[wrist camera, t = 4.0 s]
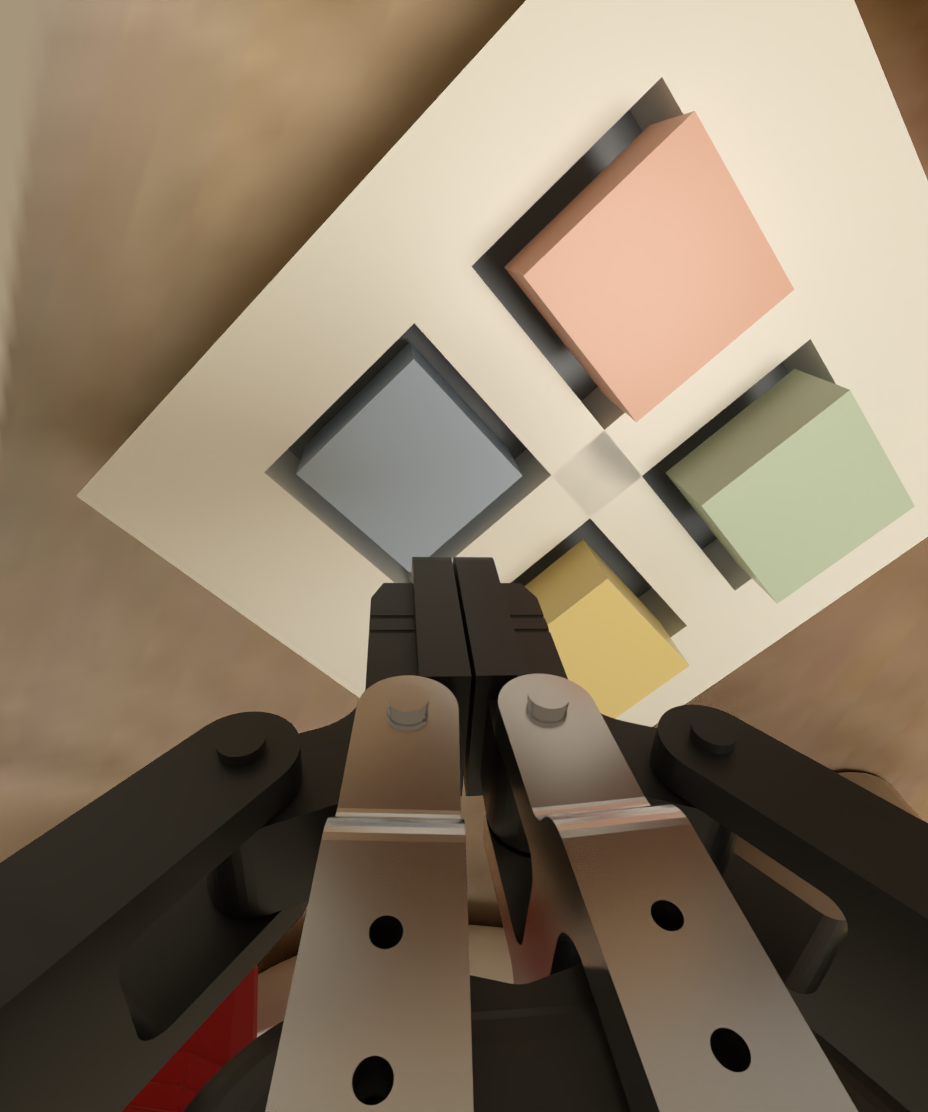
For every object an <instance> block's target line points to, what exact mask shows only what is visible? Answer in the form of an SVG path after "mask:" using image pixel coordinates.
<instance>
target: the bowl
mask: <svg viewBox="0 0 928 1112" xmlns="http://www.w3.org/2000/svg"><path fill="white" fill-rule="evenodd" d="M468 933H469V968H470V975H472V976H477V977H482V978H486V979H491V980H496V981H501V982H506V983H510V984H514V981H513V971H512V964H511V958H510V953H509V949H508V945H507V940H506V936H505V932H504V928H500V927H491V926H480V925H468ZM296 960H297V956H294V957H292V958H290V959H287V960H285V961H283V962H281V963H279V964H277V965H275V966H273V967H271V968H269V969H267V970H265V971H264V972H262V973H260V974H258V1007H257V1037H258V1036H260V1035H261V1034H263V1033H264V1032H266V1031H267V1030H269V1029H270V1028H272V1027H274V1026H275V1025H277V1024H278V1023H280V1022H282V1021H284V1018H285V1013H286V1009H287V1004H288V999H289V994H290V989H291V984H292V979H293V975H294V970H295V965H296Z"/></svg>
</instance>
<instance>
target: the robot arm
mask: <svg viewBox="0 0 928 1112" xmlns="http://www.w3.org/2000/svg"><path fill="white" fill-rule="evenodd" d="M463 776H464V784H465V792H466V796H480V795H483V797H484V804H485V810H486V815H485V825H484V835H483V839H484V845H485V850H486V854H487V858H488V863H489V867H490V871H491V876H492V880H493V884H494V889H495V893H496V897H497V902H498V906H499V910H500V914H501V919H502V923H503V927H504V932H505V936H506V940H507V945H508V949H509V953H510V958H511V964H512V971H513V981H514V984H510V983H506V982H501V981H496V980H491V979H486V978H482V977H477V976H472V975H470V968H469V933H468V898H467V864H466V833H465V822H464V820H461V796H462V787H463ZM733 849H734V852H733ZM307 905H308V907H307ZM306 907H307V912H306V916H305V921H304V926H303V931H302V936H301V941H300V946H299V950H298V955H297V960H296V965H295V970H294V975H293V979H292V984H291V989H290V994H289V999H288V1004H287V1009H286V1013H285V1018H284V1021H282V1022H280V1023H278V1024H277V1025H275V1026H274V1027H272V1028H270V1029H269V1030H267V1031H266V1032H264V1033H263V1034H261V1035H260V1036H258V1037H257V1038H255V1039H254V1040H253V1041H251V1042H250V1043H249V1044H248V1045H247V1046H245V1047H244V1048H243V1049H242V1050H240V1051H239V1052H238V1053H237V1054H236V1055H234V1056H233V1057H232V1058H231V1059H230V1060H229V1061H228V1062H227V1063H226V1064H225V1065H224V1066H223V1067H222V1068H221V1069H220V1070H219V1071H218V1072H217V1073H216V1074H215V1075H214V1076H213V1077H212V1078H211V1079H210V1080H209V1081H208V1082H207V1083H206V1084H205V1085H204V1086H203V1088H202V1089H201V1090H200V1091H199V1092H198V1093H197V1095H196V1096H195V1097H194V1098H193V1099H192V1101H191V1102H190V1103H189V1104H188V1106H187V1107H186V1108H185V1109H184V1111H183V1112H928V823H926V822H924V821H923V820H922V819H921V818H920V817H919V816H918V815H917V814H916V812H915V811H914V810H913V809H912V808H911V807H910V806H909V805H908V803H907V802H906V801H905V800H904V799H903V798H902V797H901V796H900V794H899V793H898V792H897V791H896V790H895V789H894V788H893V787H892V785H891V784H889V783H888V782H886V781H885V780H883V779H882V778H880V777H877V776H874V775H870V774H867V773H857V772H844V773H836V772H834V771H832V770H830V769H829V768H827V767H825V766H823V765H821V764H820V763H818V762H816V761H814V760H812V759H810V758H809V757H807V756H805V755H803V754H801V753H800V752H798V751H796V750H794V749H792V748H791V747H789V746H787V745H785V744H783V743H782V742H780V741H778V740H776V739H774V738H772V737H771V736H769V735H767V734H765V733H763V732H762V731H760V730H758V729H756V728H754V727H753V726H751V725H749V724H747V723H745V722H744V721H742V720H740V719H738V718H736V717H734V716H732V715H730V714H728V713H726V712H724V711H721V710H718V709H715V708H712V707H707V706H702V705H682V706H677V707H674V708H671V709H669V710H668V711H666V712H665V713H664V714H663V715H662V716H661V718H660V720H659V723H658V726H657V728H654V727H649V726H644V725H640V724H635V723H630V722H626V721H621V720H618V719H614V718H611V717H609V716H606V715H604V714H602V713H600V711H599V709H598V707H597V706H596V704H595V702H594V700H593V699H592V697H591V696H590V695H589V693H588V692H587V691H586V690H584V689H583V688H582V687H581V686H579V685H577V684H576V683H574V682H572V681H570V680H568V678H567V675H566V672H565V670H564V667H563V664H562V662H561V659H560V657H559V654H558V651H557V649H556V646H555V643H554V641H553V638H552V636H551V633H550V632H549V628H548V625H547V622H546V620H545V618H544V615H543V612H542V609H541V607H540V604H539V601H538V599H537V597H536V596H535V595H533V594H532V593H531V592H530V591H529V590H528V589H527V588H525V587H524V586H523V585H522V584H521V583H500V579H499V576H498V573H497V569H496V566H495V563H494V559H493V558H492V557H454V558H453V562H452V559H451V557H412V569H411V583H383V584H382V585H381V587H380V588H379V589H378V590H377V591H376V593H375V594H374V595H373V596H372V597H371V606H370V622H369V638H368V655H367V671H366V687H365V692H364V693H363V694H362V695H361V697H360V698H359V700H358V704H357V707H356V708H355V709H354V710H353V711H352V712H351V713H350V714H349V715H347V716H346V717H344V718H343V719H341V720H339V721H337V722H335V723H333V724H331V725H328V726H325V727H322V728H319V729H315V730H311V731H307V732H303V733H300V734H298V732H297V730H296V729H295V727H294V726H293V725H292V724H291V723H290V722H288V721H287V720H286V719H284V718H282V717H280V716H278V715H274V714H271V713H265V712H243V713H237V714H233V715H229V716H226V717H223V718H221V719H218V720H216V721H214V722H212V723H210V724H209V725H207V726H205V727H204V728H202V729H201V730H199V731H198V732H196V733H195V734H193V735H192V736H190V737H189V738H187V739H186V740H184V741H183V742H181V743H180V744H178V745H177V746H175V747H174V748H172V749H171V750H169V751H168V752H166V753H165V754H163V755H162V756H160V757H159V758H157V759H156V760H154V761H153V762H151V763H150V764H148V765H147V766H145V767H144V768H142V769H141V770H139V771H138V772H136V773H135V774H133V775H132V776H130V777H129V778H127V779H126V780H124V781H123V782H121V783H120V784H118V785H117V786H115V787H114V788H112V789H111V790H109V791H108V792H106V793H105V794H103V795H102V796H100V797H99V798H97V799H96V800H94V801H93V802H91V803H90V804H88V805H87V806H85V807H84V808H82V809H81V810H79V811H78V812H76V813H75V814H73V815H72V816H70V817H69V818H67V819H66V820H64V821H63V822H61V823H60V824H58V825H57V826H55V827H54V828H52V829H51V830H49V831H48V832H46V833H45V834H43V835H42V836H40V837H39V838H37V839H36V840H34V841H33V842H31V843H30V844H28V845H27V846H25V847H24V848H22V849H21V850H19V851H18V852H16V853H15V854H13V855H12V856H10V857H9V858H7V859H6V860H4V861H3V862H1V863H0V1112H122V1110H123V1109H124V1108H125V1107H126V1106H127V1105H128V1104H129V1103H130V1102H131V1101H132V1100H133V1099H134V1097H135V1096H136V1095H137V1094H138V1093H139V1092H140V1091H141V1090H142V1089H143V1088H144V1087H145V1085H146V1084H147V1083H148V1082H149V1081H150V1080H151V1079H152V1078H153V1077H154V1076H155V1075H156V1074H157V1072H158V1071H159V1070H160V1069H161V1068H162V1067H163V1066H164V1065H165V1064H166V1063H167V1062H168V1061H169V1059H170V1058H171V1057H172V1056H173V1055H174V1054H175V1053H176V1052H177V1051H178V1050H179V1049H180V1048H181V1046H182V1045H183V1044H184V1043H185V1042H186V1041H187V1040H188V1039H189V1038H190V1037H191V1036H192V1035H193V1033H194V1032H195V1031H196V1030H197V1029H198V1028H199V1027H200V1026H201V1025H202V1024H203V1023H204V1021H205V1020H206V1019H207V1018H208V1017H209V1016H210V1015H211V1014H212V1013H213V1012H214V1011H215V1010H216V1008H217V1007H218V1006H219V1005H220V1004H221V1003H222V1002H223V1001H224V1000H225V999H226V998H227V997H228V995H229V994H230V993H231V992H232V991H233V990H234V989H235V988H236V987H237V986H238V985H239V984H240V982H241V981H242V980H243V979H244V978H245V977H246V976H247V975H248V974H249V973H250V972H251V970H252V969H253V968H254V967H255V966H256V965H257V964H258V963H259V962H260V961H261V960H262V959H263V957H264V956H265V955H266V954H267V953H268V952H269V951H270V950H271V949H272V948H273V947H274V946H275V944H276V943H277V942H278V941H279V940H280V939H281V938H282V937H283V936H284V935H285V934H286V933H287V931H288V930H289V929H290V928H291V927H292V926H293V925H294V924H295V923H296V922H297V920H298V919H299V918H300V917H301V915H302V914H303V912H304V911H305V909H306Z"/></svg>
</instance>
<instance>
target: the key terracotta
mask: <svg viewBox="0 0 928 1112" xmlns="http://www.w3.org/2000/svg"><path fill="white" fill-rule="evenodd" d="M504 268H505V269H506V270H507V271H508V273H509V274H510V275H511V277H512V278H513V279H514V280H515V282H516V283H517V284H518V285H519V287H520V288H521V289H522V291H523V292H524V293H525V294H526V296H527V297H528V298H529V299H530V301H531V302H532V303H533V305H534V306H535V307H536V308H537V310H538V311H539V312H540V313H541V315H542V316H543V317H544V319H545V320H546V321H547V322H548V324H549V325H550V326H551V327H552V329H553V330H554V331H555V333H556V334H557V335H558V336H559V338H560V339H561V340H562V341H563V343H564V344H565V345H566V347H567V348H568V349H569V350H570V352H571V353H572V354H573V356H574V357H575V358H576V359H577V361H578V362H579V363H580V364H581V366H582V367H583V368H584V370H585V371H586V372H587V373H588V375H589V376H590V377H591V378H592V380H593V381H594V382H595V384H596V385H597V386H598V387H599V389H600V390H601V391H602V392H603V394H604V395H605V396H606V397H607V398H608V399H609V400H610V401H612V402H613V403H614V404H615V405H616V406H618V407H619V408H620V409H621V410H622V411H624V412H625V413H626V414H627V415H628V416H630V417H631V418H632V419H633V420H635V421H636V422H638V421H639V420H640V419H641V418H642V417H644V416H645V415H646V414H647V413H648V412H649V411H651V410H652V409H653V408H654V407H655V406H657V405H658V404H659V403H660V402H661V401H663V400H664V399H665V398H666V397H667V396H668V395H670V394H671V393H672V392H673V391H674V390H676V389H677V388H678V387H679V386H680V385H682V384H683V383H684V382H685V381H686V380H688V379H689V378H690V377H691V376H692V375H693V374H695V373H696V372H697V371H698V370H699V369H701V368H702V367H703V366H704V365H705V364H707V363H708V362H709V361H710V360H711V359H712V358H714V357H715V356H716V355H717V354H718V353H720V352H721V351H722V350H723V349H724V348H726V347H727V346H728V345H729V344H730V343H731V342H733V341H734V340H735V339H736V338H737V337H739V336H740V335H741V334H742V333H743V332H745V331H746V330H747V329H748V328H749V327H751V326H752V325H753V324H754V323H755V322H756V321H758V320H759V319H760V318H761V317H762V316H764V315H765V314H766V313H767V312H768V311H770V310H771V309H772V308H773V307H774V306H775V305H777V304H778V303H779V302H780V301H781V300H783V299H784V298H785V297H786V296H787V295H789V294H790V293H791V292H792V291H793V290H794V288H793V286H792V284H791V283H790V281H789V279H788V277H787V275H786V274H785V272H784V270H783V268H782V266H781V265H780V263H779V261H778V259H777V257H776V256H775V254H774V252H773V250H772V248H771V247H770V245H769V243H768V241H767V240H766V238H765V236H764V234H763V232H762V231H761V229H760V227H759V225H758V223H757V222H756V220H755V218H754V216H753V214H752V213H751V211H750V209H749V207H748V205H747V204H746V202H745V200H744V198H743V196H742V195H741V193H740V191H739V189H738V187H737V186H736V184H735V182H734V180H733V178H732V177H731V175H730V173H729V171H728V169H727V168H726V166H725V164H724V162H723V160H722V159H721V157H720V155H719V153H718V151H717V150H716V148H715V146H714V144H713V142H712V141H711V139H710V137H709V135H708V133H707V132H706V130H705V128H704V126H703V124H702V123H701V121H700V119H699V117H698V115H697V114H696V112H695V111H692V112H689V113H686V114H683V115H680V116H677V117H673V118H670V119H667V120H664V121H661V122H658V123H654V124H651V125H649V126H648V127H647V128H646V129H645V130H644V131H643V132H642V133H641V134H640V135H639V136H638V137H637V138H636V139H635V140H634V141H633V142H632V143H631V144H630V145H629V146H628V147H627V148H625V149H624V150H623V151H622V152H621V153H620V154H619V155H618V156H617V157H616V158H615V159H614V160H613V161H612V162H611V163H610V164H609V165H608V166H607V167H606V168H605V169H604V170H603V171H602V172H601V173H600V174H599V175H598V176H597V177H596V178H595V179H594V180H593V181H592V182H591V183H590V184H589V185H588V186H587V187H586V188H585V189H584V190H583V191H581V192H580V193H579V194H578V195H577V196H576V197H575V198H574V199H573V200H572V201H571V202H570V203H569V204H568V205H567V206H566V207H565V208H564V209H563V210H562V211H561V212H560V213H559V214H558V215H557V216H556V217H555V218H554V219H553V220H552V221H551V222H550V223H549V224H548V225H547V226H546V227H545V228H544V229H543V230H542V231H541V232H540V233H539V234H537V235H536V236H535V237H534V238H533V239H532V240H531V241H530V242H529V243H528V244H527V245H526V246H525V247H524V248H523V249H522V250H521V251H520V252H519V253H518V254H517V255H516V256H515V257H514V258H513V259H512V260H511V261H510V262H509V263H508V264H507V265H506V266H505V267H504Z"/></svg>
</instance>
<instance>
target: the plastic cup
mask: <svg viewBox="0 0 928 1112" xmlns="http://www.w3.org/2000/svg"><path fill="white" fill-rule="evenodd" d="M257 1007H258V964H257V965H256V966H255V967H254V968H253V969H252V970H251V972H250V973H249V974H248V975H247V976H246V977H245V978H244V979H243V980H242V981H241V982H240V984H239V985H238V986H237V987H236V988H235V989H234V990H233V991H232V992H231V993H230V994H229V995H228V997H227V998H226V999H225V1000H224V1001H223V1002H222V1003H221V1004H220V1005H219V1006H218V1007H217V1008H216V1010H215V1011H214V1012H213V1013H212V1014H211V1015H210V1016H209V1017H208V1018H207V1019H206V1020H205V1021H204V1023H203V1024H202V1025H201V1026H200V1027H199V1028H198V1029H197V1030H196V1031H195V1032H194V1033H193V1035H192V1036H191V1037H190V1038H189V1039H188V1040H187V1041H186V1042H185V1043H184V1044H183V1045H182V1046H181V1048H180V1049H179V1050H178V1051H177V1052H176V1053H175V1054H174V1055H173V1056H172V1057H171V1058H170V1059H169V1061H168V1062H167V1063H166V1064H165V1065H164V1066H163V1067H162V1068H161V1069H160V1070H159V1071H158V1072H157V1074H156V1075H155V1076H154V1077H153V1078H152V1079H151V1080H150V1081H149V1082H148V1083H147V1084H146V1085H145V1087H144V1088H143V1089H142V1090H141V1091H140V1092H139V1093H138V1094H137V1095H136V1096H135V1097H134V1099H133V1100H132V1101H131V1102H130V1103H129V1104H128V1105H127V1106H126V1107H125V1108H124V1109H123V1110H122V1112H183V1111H184V1109H185V1108H186V1107H187V1106H188V1104H189V1103H190V1102H191V1101H192V1099H193V1098H194V1097H195V1096H196V1095H197V1093H198V1092H199V1091H200V1090H201V1089H202V1088H203V1086H204V1085H205V1084H206V1083H207V1082H208V1081H209V1080H210V1079H211V1078H212V1077H213V1076H214V1075H215V1074H216V1073H217V1072H218V1071H219V1070H220V1069H221V1068H222V1067H223V1066H224V1065H225V1064H226V1063H227V1062H228V1061H229V1060H230V1059H231V1058H232V1057H233V1056H234V1055H236V1054H237V1053H238V1052H239V1051H240V1050H242V1049H243V1048H244V1047H245V1046H247V1045H248V1044H249V1043H250V1042H251V1041H253V1040H254V1039H255V1038H257Z"/></svg>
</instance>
